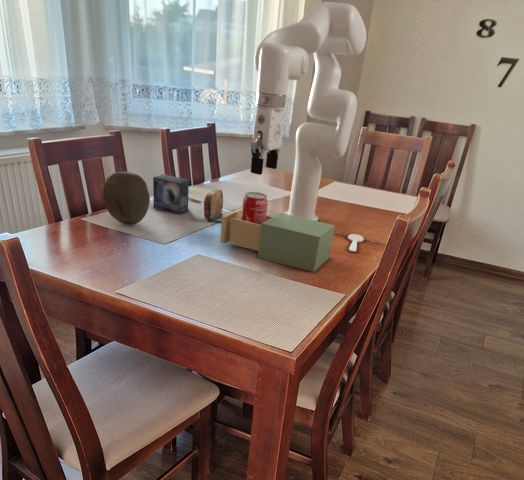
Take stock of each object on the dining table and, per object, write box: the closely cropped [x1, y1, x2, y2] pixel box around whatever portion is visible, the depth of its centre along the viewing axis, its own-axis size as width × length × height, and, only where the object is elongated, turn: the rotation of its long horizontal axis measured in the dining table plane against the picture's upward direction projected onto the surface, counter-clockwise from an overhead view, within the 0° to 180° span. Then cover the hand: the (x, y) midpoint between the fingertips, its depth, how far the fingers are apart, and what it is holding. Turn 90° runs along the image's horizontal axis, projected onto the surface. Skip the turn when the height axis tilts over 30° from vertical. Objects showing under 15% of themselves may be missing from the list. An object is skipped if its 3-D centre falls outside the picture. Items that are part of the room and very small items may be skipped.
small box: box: [152, 173, 190, 215], centre depth 163 cm, size 11×6×10 cm, turn 68°
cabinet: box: [257, 212, 336, 273], centre depth 135 cm, size 17×14×10 cm
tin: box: [203, 189, 224, 220], centre depth 161 cm, size 15×3×8 cm, turn 168°
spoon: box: [347, 233, 365, 253], centre depth 155 cm, size 5×18×1 cm, turn 166°
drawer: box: [206, 207, 274, 252], centre depth 140 cm, size 22×13×8 cm, turn 65°
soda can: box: [241, 191, 269, 225], centre depth 137 cm, size 7×7×13 cm
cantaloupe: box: [102, 171, 151, 226], centre depth 144 cm, size 14×14×15 cm
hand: (263, 170), depth 132 cm, fingers open, 9 cm apart
